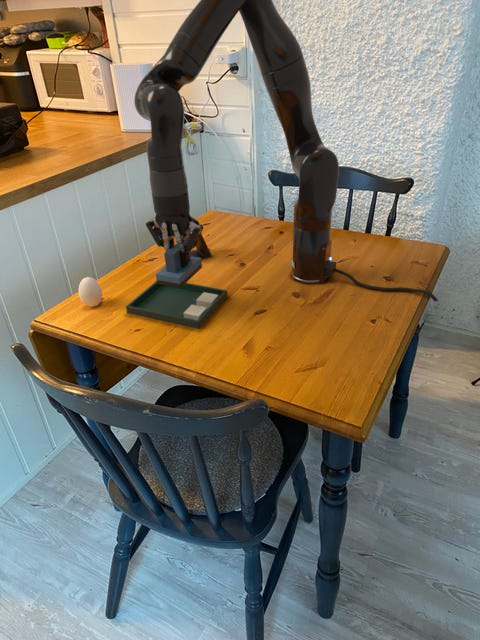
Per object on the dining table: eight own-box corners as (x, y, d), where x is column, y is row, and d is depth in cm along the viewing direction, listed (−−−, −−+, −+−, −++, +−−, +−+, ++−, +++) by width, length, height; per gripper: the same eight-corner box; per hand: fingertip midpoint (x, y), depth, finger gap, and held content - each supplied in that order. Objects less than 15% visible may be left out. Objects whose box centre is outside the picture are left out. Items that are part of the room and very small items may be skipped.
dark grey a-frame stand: (183, 264, 132) (178, 223, 126) (175, 256, 137) (170, 217, 130) (211, 256, 136) (208, 217, 129) (202, 249, 140) (199, 210, 134)
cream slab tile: (207, 313, 109) (207, 307, 108) (199, 322, 106) (199, 316, 105) (192, 310, 110) (191, 304, 109) (184, 319, 107) (183, 312, 106)
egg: (93, 313, 112) (86, 285, 108) (77, 307, 114) (70, 280, 110) (109, 303, 116) (103, 275, 111) (93, 298, 118) (87, 270, 114)
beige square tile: (219, 301, 114) (218, 294, 113) (211, 309, 110) (211, 302, 110) (204, 298, 115) (203, 292, 114) (196, 306, 112) (196, 299, 111)
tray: (227, 298, 116) (227, 290, 114) (199, 330, 104) (198, 322, 103) (161, 285, 122) (160, 277, 121) (127, 314, 111) (125, 306, 109)
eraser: (202, 267, 111) (199, 239, 107) (180, 288, 103) (176, 259, 99) (180, 263, 113) (176, 236, 109) (157, 283, 105) (152, 255, 101)
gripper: (131, 192, 97) (144, 267, 106) (190, 198, 92) (198, 276, 101) (150, 181, 102) (161, 253, 112) (207, 186, 97) (213, 261, 107)
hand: (179, 264), depth 106 cm, fingers closed on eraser, 2 cm apart
